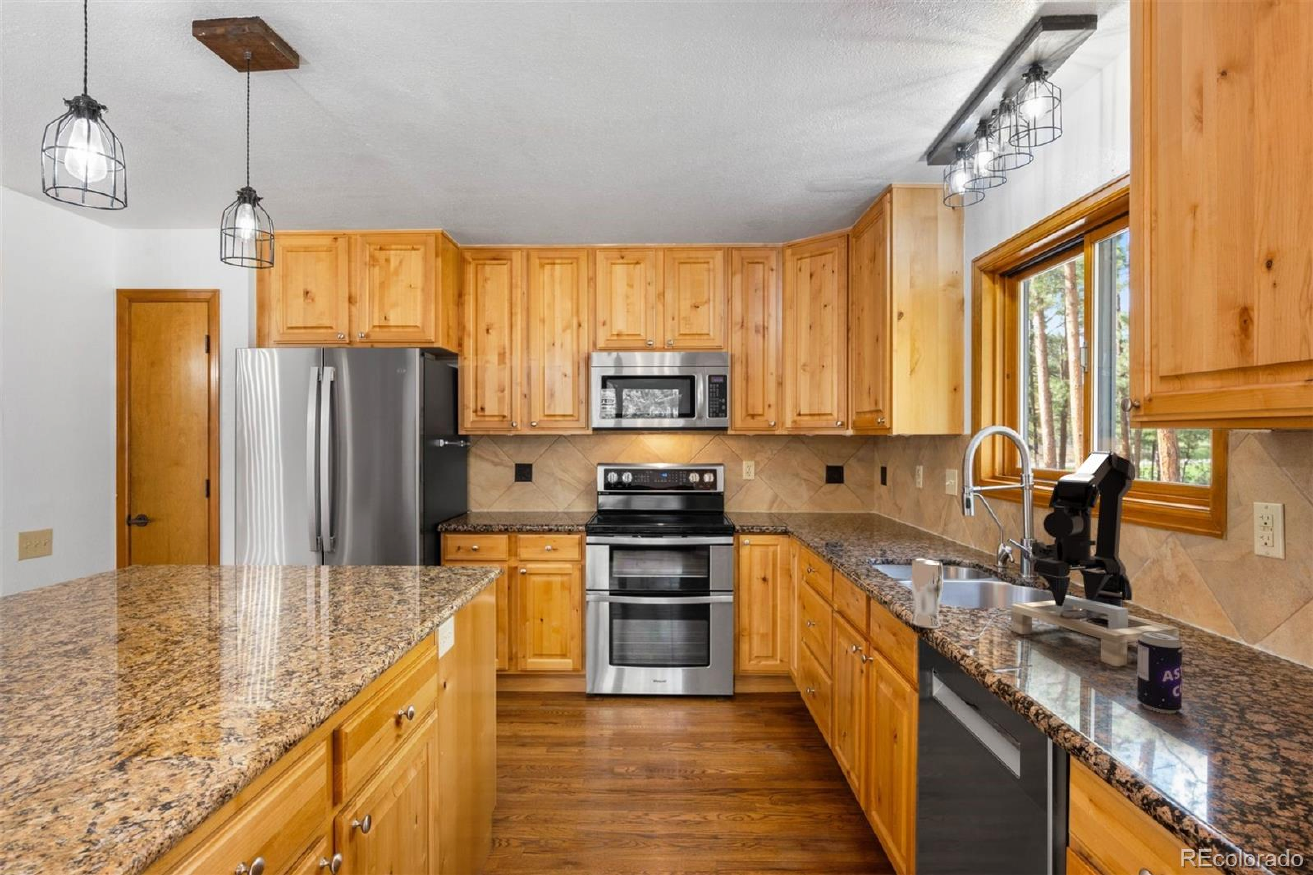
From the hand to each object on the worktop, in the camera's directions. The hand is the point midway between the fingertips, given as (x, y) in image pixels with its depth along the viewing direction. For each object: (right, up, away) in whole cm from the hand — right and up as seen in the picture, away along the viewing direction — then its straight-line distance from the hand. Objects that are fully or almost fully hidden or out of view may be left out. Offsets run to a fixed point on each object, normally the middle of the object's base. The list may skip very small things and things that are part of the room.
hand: (1074, 604), depth 140 cm
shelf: (+1, -8, -3) cm, 8 cm away
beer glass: (-29, -7, +8) cm, 31 cm away
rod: (+1, -2, -3) cm, 4 cm away
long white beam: (+1, -4, -3) cm, 5 cm away
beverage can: (-11, -7, -37) cm, 39 cm away
